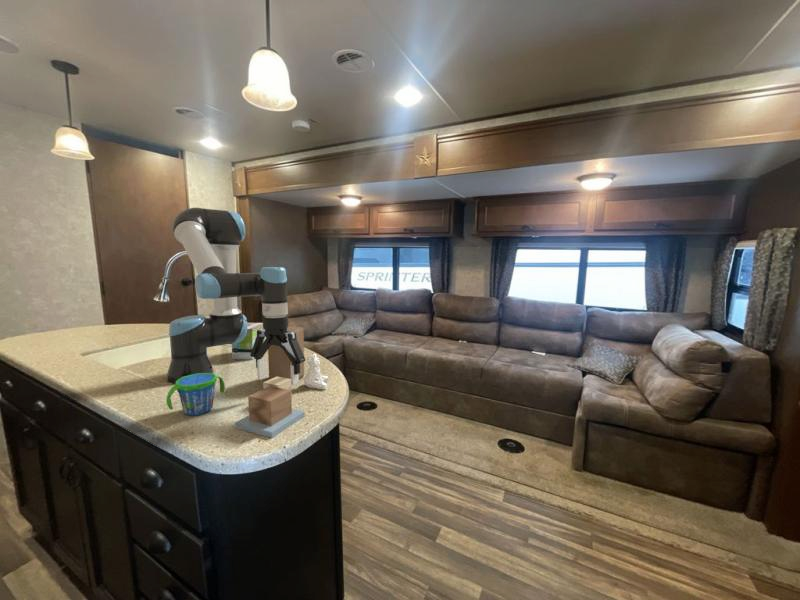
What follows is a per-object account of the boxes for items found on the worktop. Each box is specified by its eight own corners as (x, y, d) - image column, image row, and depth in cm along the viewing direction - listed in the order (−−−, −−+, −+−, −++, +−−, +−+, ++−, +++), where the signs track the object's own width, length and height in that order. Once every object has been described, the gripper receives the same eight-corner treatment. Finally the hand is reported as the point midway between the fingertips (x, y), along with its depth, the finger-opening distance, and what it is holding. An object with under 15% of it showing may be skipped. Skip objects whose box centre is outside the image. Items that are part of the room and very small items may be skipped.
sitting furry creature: (326, 390, 117) (326, 357, 115) (301, 391, 115) (301, 358, 114) (328, 380, 126) (328, 350, 124) (305, 381, 125) (304, 350, 123)
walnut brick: (249, 420, 91) (248, 396, 90) (270, 408, 98) (269, 386, 98) (271, 426, 88) (270, 401, 87) (291, 413, 95) (291, 390, 95)
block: (292, 385, 121) (290, 331, 118) (268, 382, 123) (266, 330, 120) (305, 375, 131) (304, 326, 128) (282, 373, 132) (281, 325, 130)
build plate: (235, 427, 90) (235, 422, 90) (270, 408, 102) (270, 403, 102) (272, 437, 85) (272, 432, 85) (304, 416, 97) (304, 411, 97)
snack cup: (174, 426, 90) (171, 390, 89) (162, 414, 97) (160, 381, 96) (232, 407, 102) (231, 376, 101) (218, 398, 109) (217, 368, 107)
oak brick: (264, 403, 105) (263, 382, 104) (277, 396, 111) (276, 376, 110) (278, 406, 103) (278, 385, 102) (291, 399, 109) (291, 379, 108)
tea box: (253, 360, 150) (252, 328, 148) (231, 359, 150) (230, 328, 148) (267, 351, 165) (266, 322, 163) (247, 350, 165) (246, 321, 163)
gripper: (236, 315, 105) (239, 379, 107) (299, 320, 95) (301, 390, 98) (254, 312, 112) (257, 372, 114) (315, 316, 102) (317, 382, 105)
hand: (278, 381), depth 106 cm, fingers open, 13 cm apart
